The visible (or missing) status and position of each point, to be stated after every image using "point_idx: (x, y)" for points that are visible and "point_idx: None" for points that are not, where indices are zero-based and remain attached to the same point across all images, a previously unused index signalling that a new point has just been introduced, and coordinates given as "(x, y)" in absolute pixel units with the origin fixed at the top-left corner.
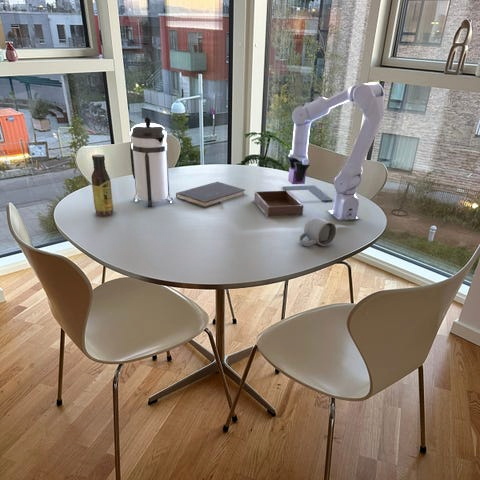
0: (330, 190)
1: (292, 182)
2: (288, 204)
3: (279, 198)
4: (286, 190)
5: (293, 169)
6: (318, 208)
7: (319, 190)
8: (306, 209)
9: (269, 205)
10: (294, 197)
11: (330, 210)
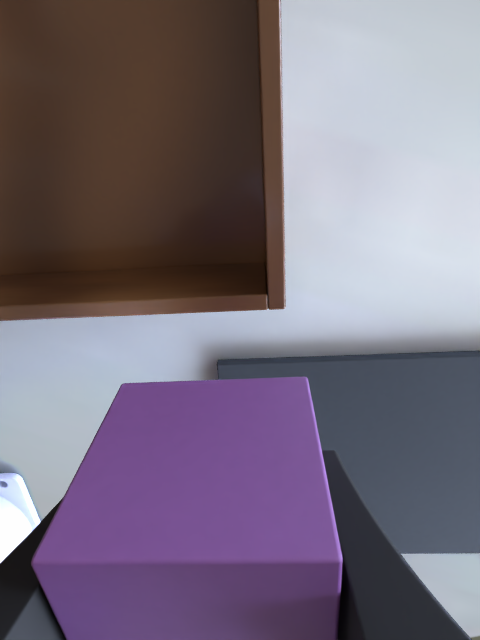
0: (445, 597)
1: (119, 396)
2: (127, 253)
3: (262, 203)
4: (282, 303)
5: (162, 587)
6: (90, 441)
7: (444, 551)
8: (58, 364)
9: (81, 29)
10: (30, 316)
11: (19, 489)
